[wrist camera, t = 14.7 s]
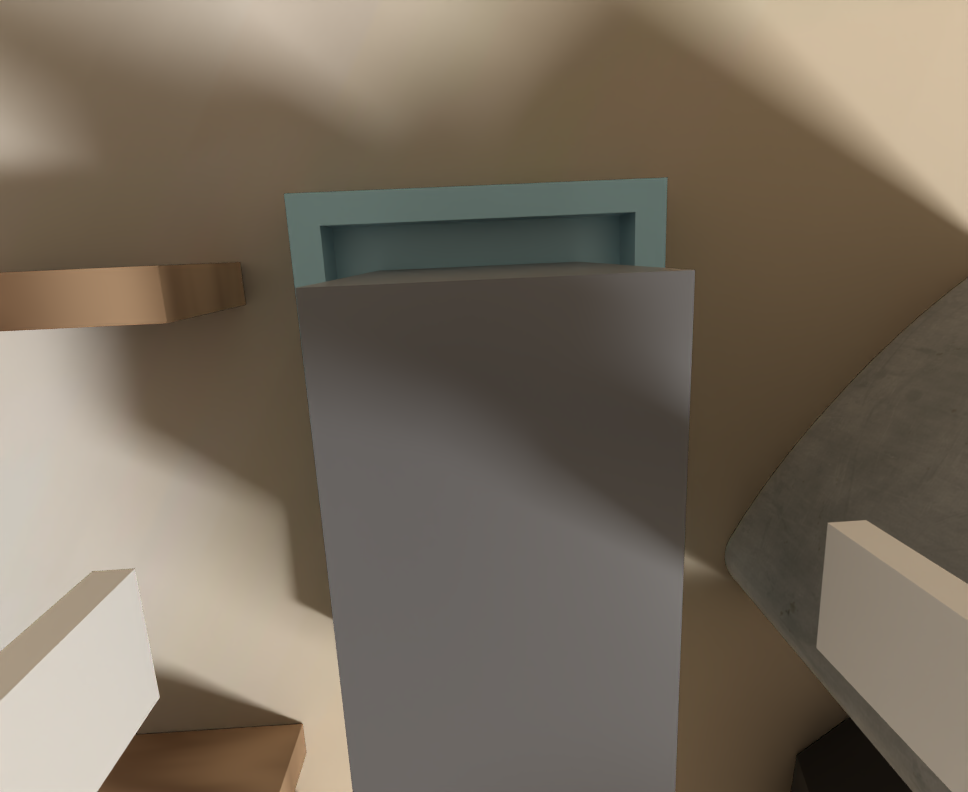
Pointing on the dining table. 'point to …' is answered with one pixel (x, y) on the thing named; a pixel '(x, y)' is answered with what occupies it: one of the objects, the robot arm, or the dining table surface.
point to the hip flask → (868, 496)
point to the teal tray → (476, 227)
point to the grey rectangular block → (504, 520)
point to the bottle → (845, 765)
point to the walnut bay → (155, 300)
